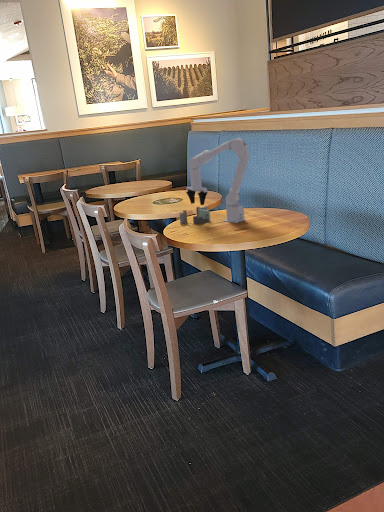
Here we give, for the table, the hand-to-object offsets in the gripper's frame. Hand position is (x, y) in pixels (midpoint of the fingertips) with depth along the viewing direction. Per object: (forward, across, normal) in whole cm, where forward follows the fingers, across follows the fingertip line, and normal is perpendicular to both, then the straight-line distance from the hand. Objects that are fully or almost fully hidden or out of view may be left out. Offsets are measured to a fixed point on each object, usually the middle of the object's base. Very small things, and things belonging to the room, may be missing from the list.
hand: (197, 204), depth 249 cm
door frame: (+9, -3, 0) cm, 10 cm away
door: (+9, +2, +2) cm, 10 cm away
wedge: (+10, +4, -2) cm, 11 cm away
